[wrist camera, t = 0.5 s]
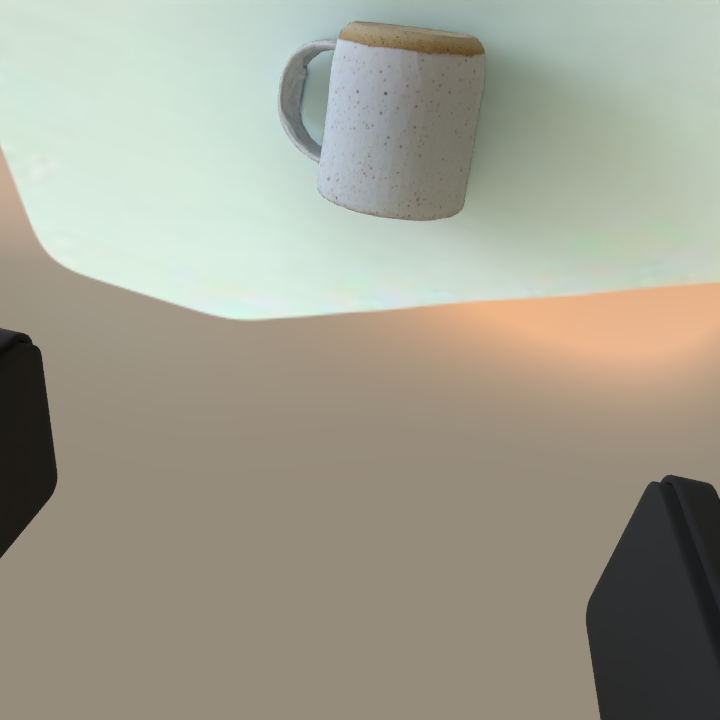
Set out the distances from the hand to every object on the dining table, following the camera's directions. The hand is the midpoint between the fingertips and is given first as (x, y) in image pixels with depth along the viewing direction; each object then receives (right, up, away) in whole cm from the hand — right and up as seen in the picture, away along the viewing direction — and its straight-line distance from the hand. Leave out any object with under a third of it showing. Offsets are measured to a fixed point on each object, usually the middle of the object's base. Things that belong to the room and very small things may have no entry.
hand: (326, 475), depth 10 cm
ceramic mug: (+2, +16, +26) cm, 30 cm away
